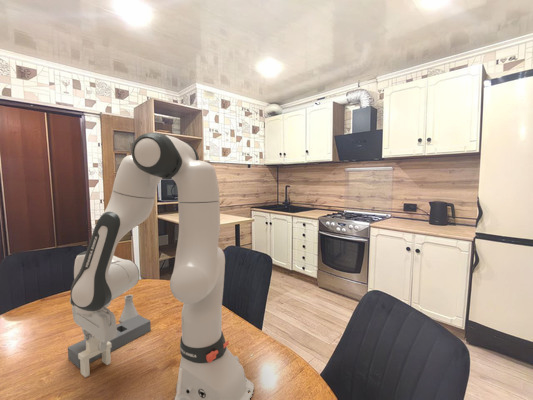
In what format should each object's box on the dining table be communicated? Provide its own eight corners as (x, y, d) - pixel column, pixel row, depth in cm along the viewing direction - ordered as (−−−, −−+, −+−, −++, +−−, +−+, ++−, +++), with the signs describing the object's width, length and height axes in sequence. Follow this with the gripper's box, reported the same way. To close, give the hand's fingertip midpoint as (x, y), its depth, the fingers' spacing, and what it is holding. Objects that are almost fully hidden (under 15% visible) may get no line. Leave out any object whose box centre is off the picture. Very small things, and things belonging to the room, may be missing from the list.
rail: (150, 330, 98) (150, 320, 98) (79, 368, 78) (78, 356, 78) (138, 324, 103) (138, 314, 102) (68, 358, 82) (67, 347, 82)
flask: (130, 325, 102) (129, 301, 101) (115, 323, 104) (114, 299, 103) (142, 316, 109) (142, 293, 108) (128, 314, 111) (127, 291, 110)
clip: (112, 362, 81) (111, 333, 80) (83, 378, 74) (82, 347, 74) (107, 358, 83) (106, 330, 82) (79, 374, 76) (77, 344, 75)
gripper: (122, 306, 74) (123, 351, 75) (89, 289, 85) (91, 329, 86) (98, 315, 69) (100, 364, 70) (67, 297, 80) (69, 338, 81)
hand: (95, 344), depth 78 cm, fingers open, 8 cm apart
